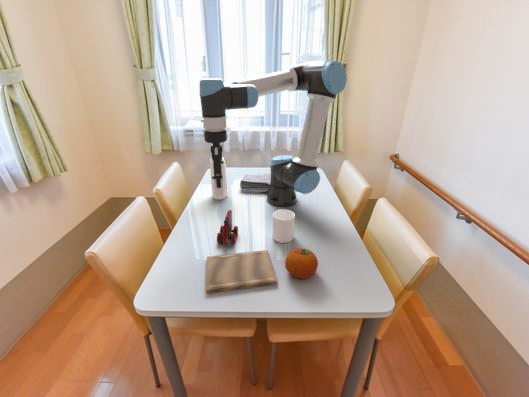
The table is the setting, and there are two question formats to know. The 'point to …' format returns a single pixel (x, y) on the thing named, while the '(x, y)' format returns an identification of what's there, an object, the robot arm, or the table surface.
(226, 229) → the toy fire truck
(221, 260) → the board
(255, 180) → the towel
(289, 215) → the mug
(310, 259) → the fruit
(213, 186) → the bottle
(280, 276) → the table surface
